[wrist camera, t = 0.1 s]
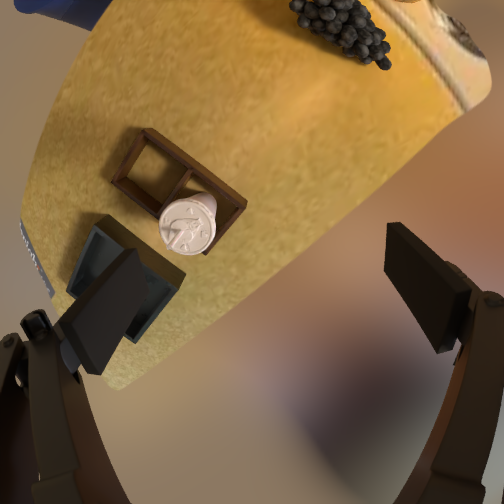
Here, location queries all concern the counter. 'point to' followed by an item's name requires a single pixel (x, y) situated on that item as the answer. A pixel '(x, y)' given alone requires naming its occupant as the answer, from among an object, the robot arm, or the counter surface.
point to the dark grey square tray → (154, 265)
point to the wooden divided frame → (193, 167)
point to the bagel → (408, 1)
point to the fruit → (345, 28)
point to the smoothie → (189, 224)
